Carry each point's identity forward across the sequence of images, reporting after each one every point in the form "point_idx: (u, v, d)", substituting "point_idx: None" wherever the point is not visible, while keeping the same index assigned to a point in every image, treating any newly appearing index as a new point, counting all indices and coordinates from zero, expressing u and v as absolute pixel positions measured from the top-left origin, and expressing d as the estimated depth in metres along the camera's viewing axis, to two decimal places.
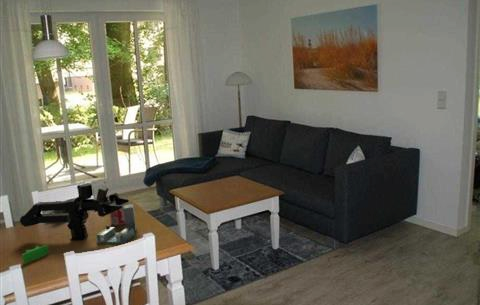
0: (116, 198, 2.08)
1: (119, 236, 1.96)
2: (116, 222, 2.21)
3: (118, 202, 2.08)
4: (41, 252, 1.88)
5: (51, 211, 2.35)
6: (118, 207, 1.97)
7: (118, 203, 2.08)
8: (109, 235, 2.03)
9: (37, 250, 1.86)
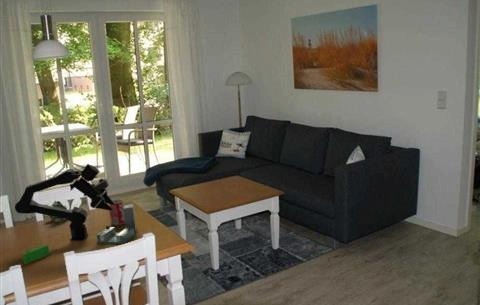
0: (105, 194, 2.12)
1: (119, 236, 1.96)
2: (116, 222, 2.21)
3: (104, 199, 2.12)
4: (42, 252, 1.87)
5: None
6: (109, 208, 2.03)
7: None
8: (109, 235, 2.03)
9: (38, 250, 1.86)
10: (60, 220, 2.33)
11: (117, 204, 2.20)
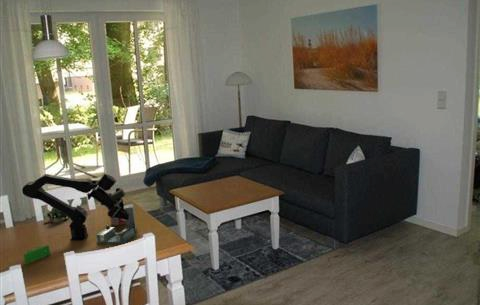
0: (121, 203, 2.14)
1: (119, 236, 1.96)
2: (116, 222, 2.21)
3: None
4: (42, 252, 1.87)
5: (49, 211, 2.35)
6: (125, 217, 2.05)
7: None
8: (109, 235, 2.03)
9: (38, 250, 1.85)
10: (58, 220, 2.33)
11: None
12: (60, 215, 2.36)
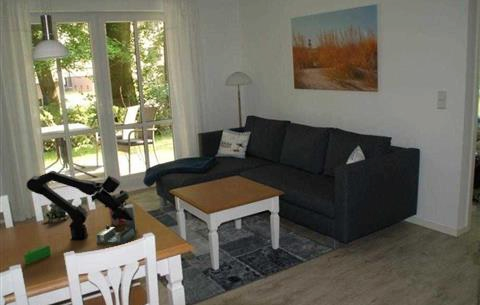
0: None
1: (119, 236, 1.96)
2: (116, 222, 2.21)
3: None
4: (43, 253, 1.87)
5: (48, 211, 2.35)
6: (130, 218, 2.08)
7: None
8: (109, 235, 2.03)
9: (39, 251, 1.85)
10: (57, 220, 2.33)
11: None
12: (59, 215, 2.36)
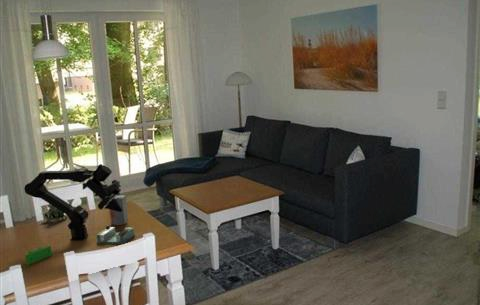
0: None
1: (119, 236, 1.96)
2: None
3: None
4: (44, 253, 1.86)
5: (46, 211, 2.35)
6: (118, 209, 2.01)
7: None
8: (109, 235, 2.03)
9: (40, 251, 1.85)
10: (55, 221, 2.33)
11: None
12: (57, 215, 2.36)
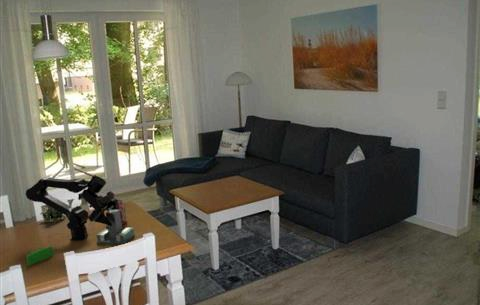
0: (114, 207, 2.06)
1: (119, 236, 1.96)
2: None
3: None
4: (45, 254, 1.86)
5: (44, 212, 2.35)
6: (108, 223, 1.96)
7: None
8: None
9: (41, 252, 1.84)
10: (53, 221, 2.33)
11: None
12: (55, 215, 2.36)
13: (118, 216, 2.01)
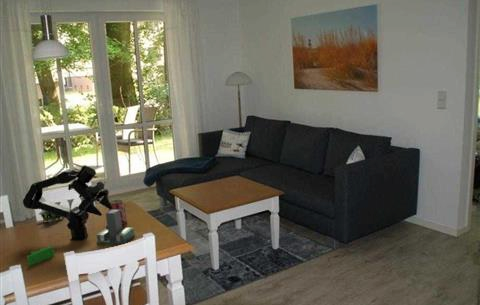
0: (104, 198, 2.06)
1: (119, 236, 1.96)
2: None
3: (103, 202, 2.06)
4: (46, 254, 1.85)
5: (43, 212, 2.35)
6: (98, 213, 1.96)
7: (102, 202, 2.07)
8: None
9: (42, 252, 1.84)
10: (52, 221, 2.33)
11: (117, 204, 2.20)
12: (54, 216, 2.35)
13: (118, 216, 2.01)
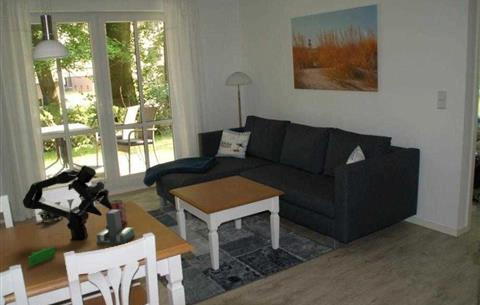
0: (104, 198, 2.06)
1: (119, 236, 1.96)
2: None
3: (103, 202, 2.06)
4: (47, 254, 1.85)
5: (41, 212, 2.35)
6: (98, 213, 1.96)
7: (102, 202, 2.07)
8: None
9: (43, 252, 1.83)
10: (51, 221, 2.33)
11: (117, 204, 2.20)
12: (53, 216, 2.35)
13: (118, 216, 2.01)
